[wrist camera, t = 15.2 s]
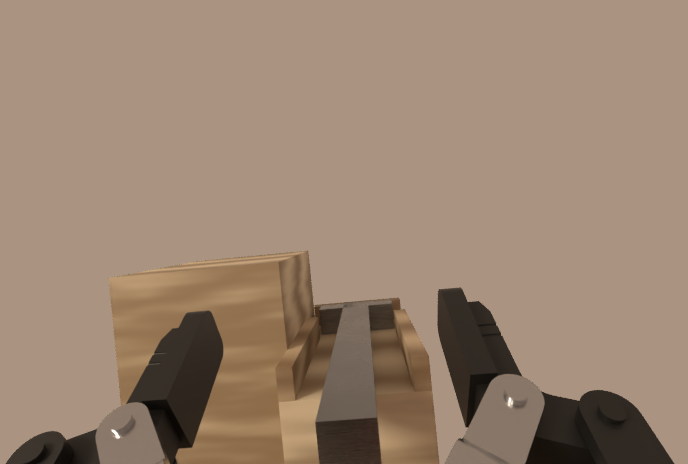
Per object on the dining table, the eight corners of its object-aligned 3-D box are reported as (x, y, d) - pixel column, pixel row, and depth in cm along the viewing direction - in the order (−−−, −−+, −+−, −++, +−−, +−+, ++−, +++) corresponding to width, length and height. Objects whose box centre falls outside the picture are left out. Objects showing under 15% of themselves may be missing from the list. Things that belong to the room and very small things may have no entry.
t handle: (443, 475, 15) (437, 413, 15) (262, 487, 15) (256, 426, 15) (392, 322, 39) (390, 299, 39) (323, 328, 39) (321, 305, 39)
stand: (472, 803, 22) (418, 252, 22) (122, 810, 23) (70, 285, 23) (422, 538, 41) (393, 241, 41) (230, 549, 42) (202, 260, 42)
